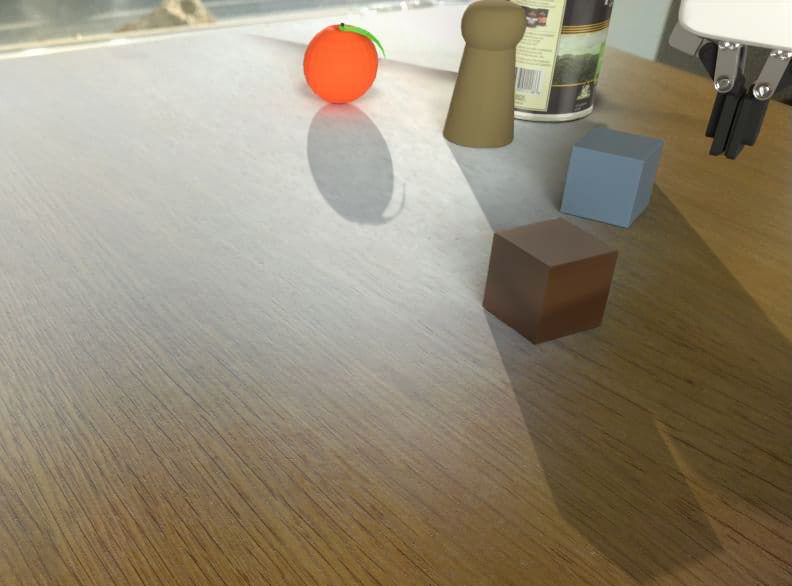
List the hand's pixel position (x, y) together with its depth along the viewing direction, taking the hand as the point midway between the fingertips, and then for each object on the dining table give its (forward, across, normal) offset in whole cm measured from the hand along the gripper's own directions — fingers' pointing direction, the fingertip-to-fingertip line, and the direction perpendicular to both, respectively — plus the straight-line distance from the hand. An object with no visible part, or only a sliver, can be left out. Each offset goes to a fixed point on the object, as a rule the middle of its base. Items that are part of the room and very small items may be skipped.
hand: (726, 151), depth 65 cm
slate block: (+6, +7, -1) cm, 9 cm away
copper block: (+6, +5, +17) cm, 19 cm away
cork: (+6, +21, -10) cm, 24 cm away
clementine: (+7, +35, -11) cm, 37 cm away
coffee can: (+6, +20, -21) cm, 29 cm away
